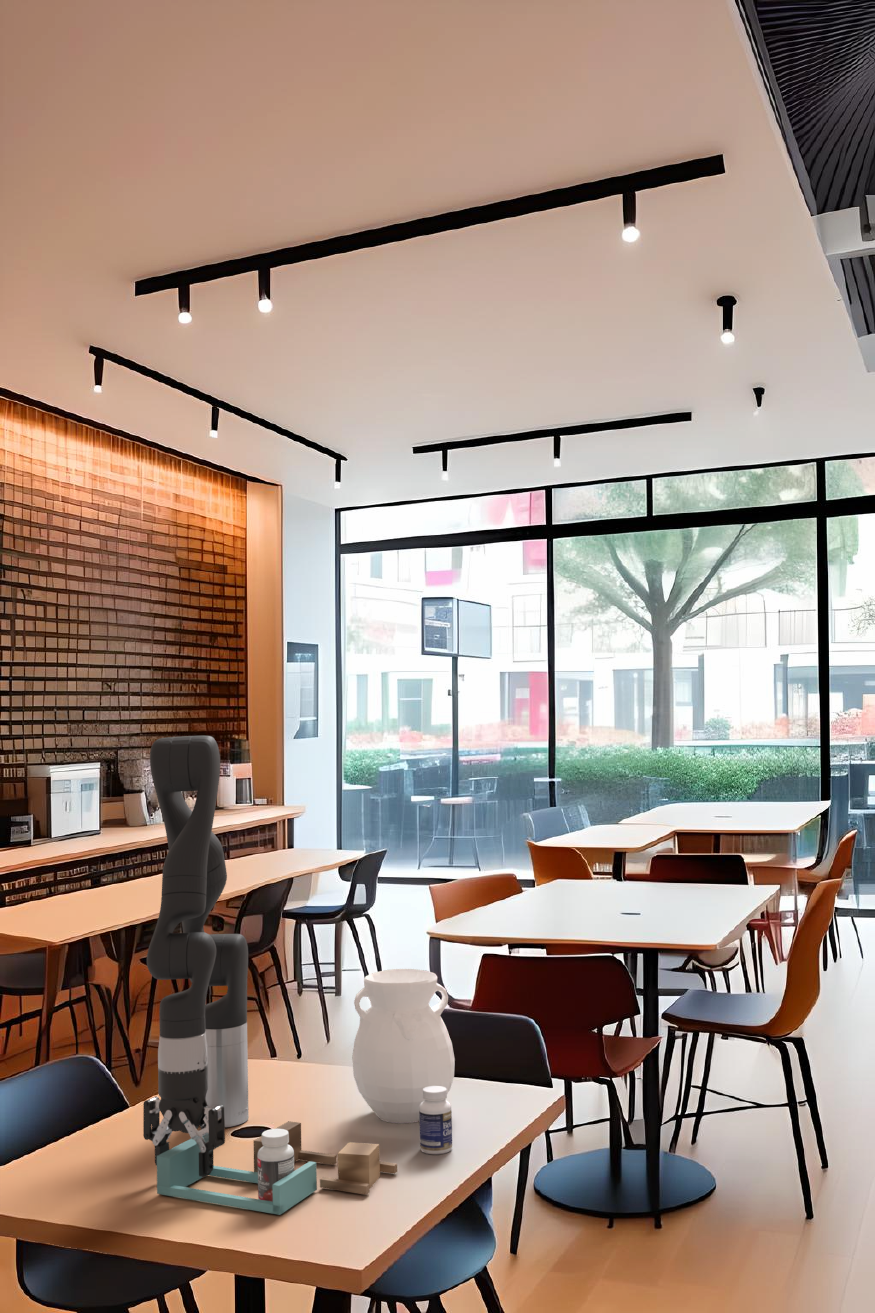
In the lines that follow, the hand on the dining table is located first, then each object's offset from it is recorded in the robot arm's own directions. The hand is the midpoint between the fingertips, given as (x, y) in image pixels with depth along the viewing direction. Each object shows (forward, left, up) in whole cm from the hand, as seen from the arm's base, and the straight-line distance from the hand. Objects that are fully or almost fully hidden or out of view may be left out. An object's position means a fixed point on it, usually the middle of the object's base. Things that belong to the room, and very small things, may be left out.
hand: (184, 1172), depth 176 cm
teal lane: (+10, 0, -2) cm, 10 cm away
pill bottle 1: (+17, 0, -2) cm, 17 cm away
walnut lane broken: (+19, +11, -2) cm, 22 cm away
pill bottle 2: (+30, +28, -2) cm, 41 cm away
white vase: (+17, +42, -2) cm, 45 cm away
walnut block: (+25, +11, -2) cm, 27 cm away
